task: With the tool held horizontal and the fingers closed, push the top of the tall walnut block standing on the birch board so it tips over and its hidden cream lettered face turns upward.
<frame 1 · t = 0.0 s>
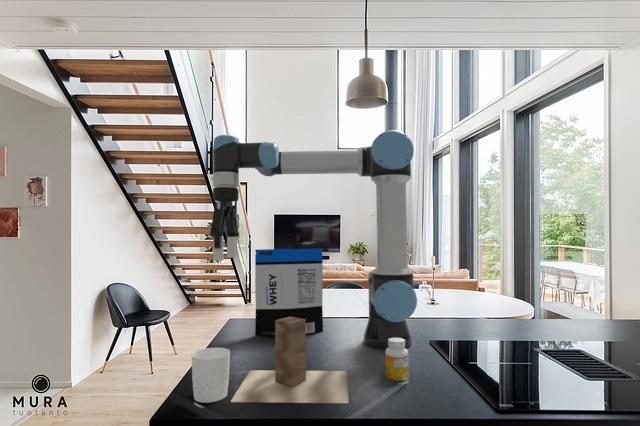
hand: (225, 259, 112), 28 cm above the kitchen island, tool pointing down, fingers open, 13 cm apart
protein powder: (289, 334, 134), on the kitchen island
white cup: (210, 402, 80), on the kitchen island
block: (290, 381, 87), point 1 cm above the kitchen island, touching board
board: (294, 390, 85), on the kitchen island
supplement bottle: (397, 382, 90), on the kitchen island
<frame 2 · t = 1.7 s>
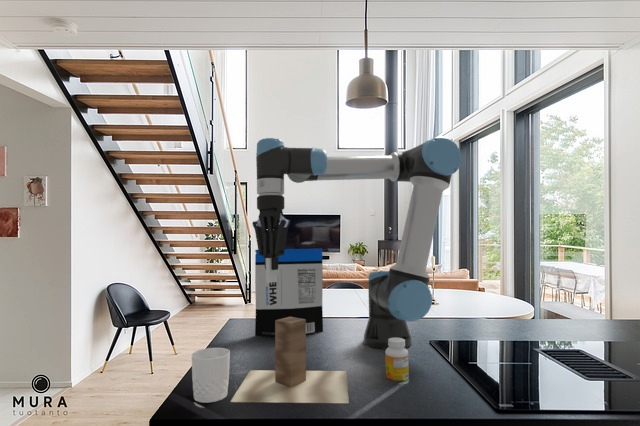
hand: (271, 281, 103), 22 cm above the kitchen island, tool pointing down, fingers closed
nothing on the kitchen island moved.
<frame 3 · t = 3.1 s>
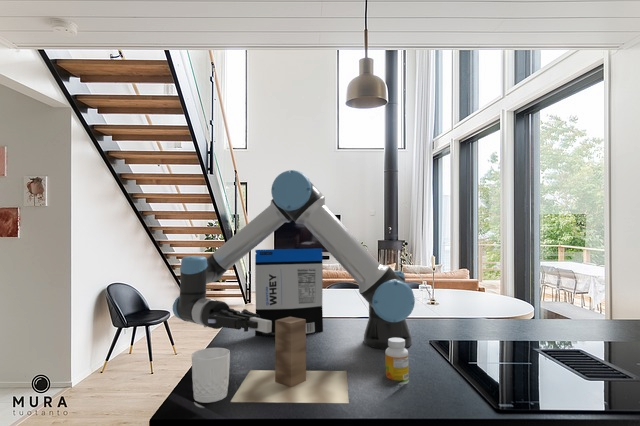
hand: (269, 326, 92), 13 cm above the kitchen island, tool horizontal, fingers closed
nothing on the kitchen island moved.
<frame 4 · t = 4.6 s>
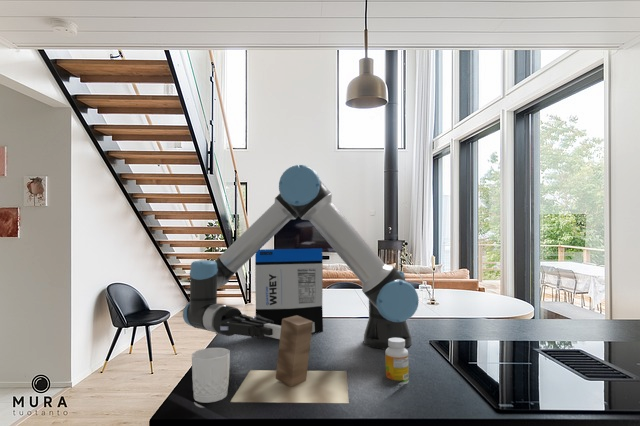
hand: (284, 333, 89), 12 cm above the kitchen island, tool horizontal, fingers closed
block: (290, 379, 87), point 2 cm above the kitchen island, tilted 9°, touching board
everything else where it was.
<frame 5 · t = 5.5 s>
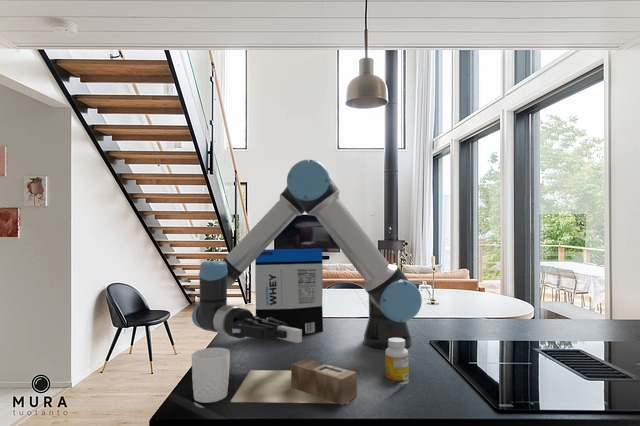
hand: (299, 336, 86), 12 cm above the kitchen island, tool horizontal, fingers closed
block: (298, 372, 86), point 4 cm above the kitchen island, tilted 90°, touching board
everything else where it was.
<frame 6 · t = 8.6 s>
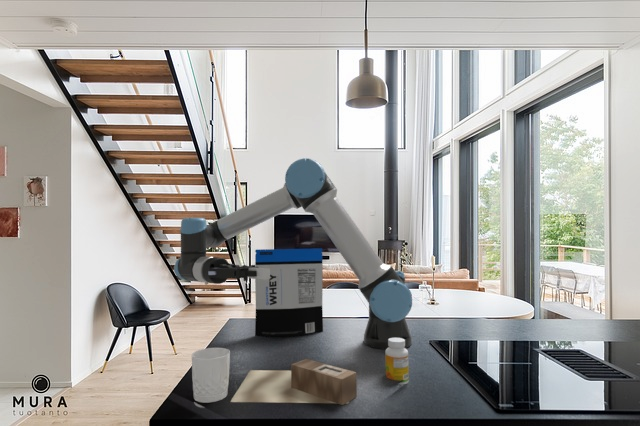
hand: (267, 274, 95), 25 cm above the kitchen island, tool horizontal, fingers closed
nothing on the kitchen island moved.
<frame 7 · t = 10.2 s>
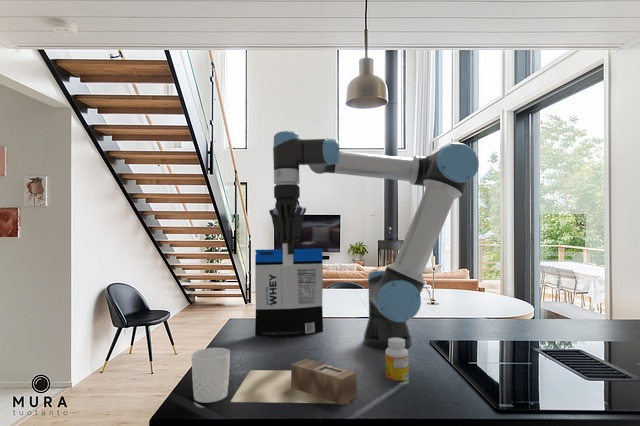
hand: (288, 265, 110), 26 cm above the kitchen island, tool pointing down, fingers closed
nothing on the kitchen island moved.
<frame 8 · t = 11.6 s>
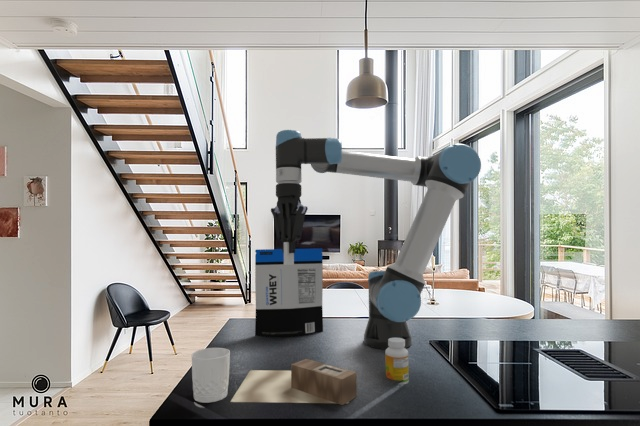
hand: (288, 264, 110), 26 cm above the kitchen island, tool pointing down, fingers closed
nothing on the kitchen island moved.
at the end: block tilted 90°; block inside the target area (0.4 cm from its centre), point 3.7 cm above the kitchen island; block moved 3.6 cm from its start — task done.
